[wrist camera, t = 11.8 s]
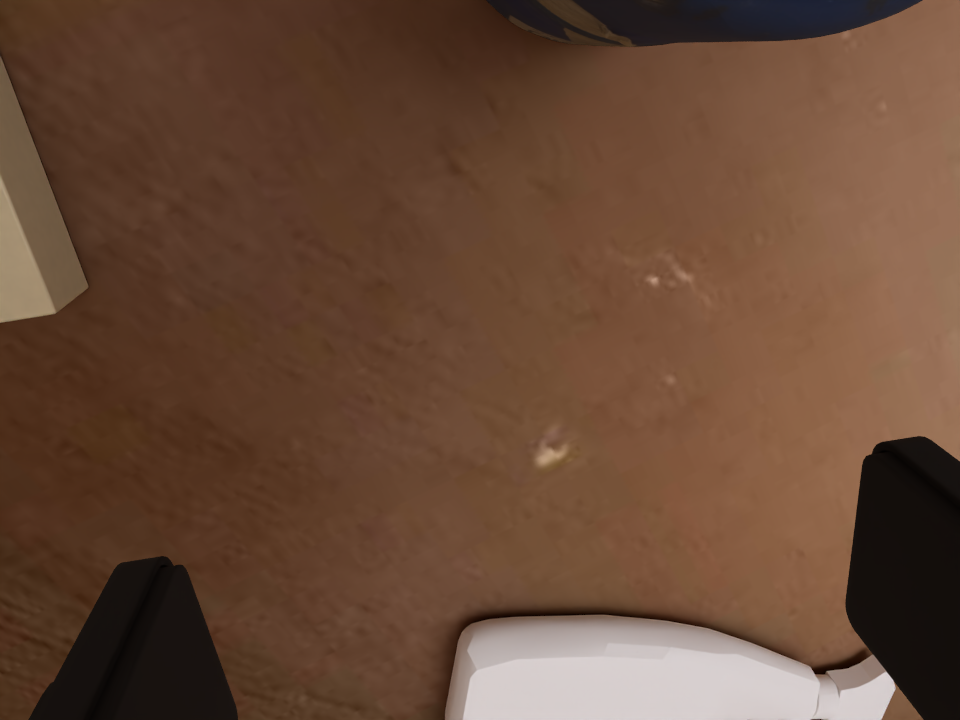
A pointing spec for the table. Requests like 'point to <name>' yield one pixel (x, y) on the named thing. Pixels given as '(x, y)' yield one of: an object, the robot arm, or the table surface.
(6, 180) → the dial panel
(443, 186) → the table surface
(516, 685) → the spray bottle
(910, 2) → the canister
